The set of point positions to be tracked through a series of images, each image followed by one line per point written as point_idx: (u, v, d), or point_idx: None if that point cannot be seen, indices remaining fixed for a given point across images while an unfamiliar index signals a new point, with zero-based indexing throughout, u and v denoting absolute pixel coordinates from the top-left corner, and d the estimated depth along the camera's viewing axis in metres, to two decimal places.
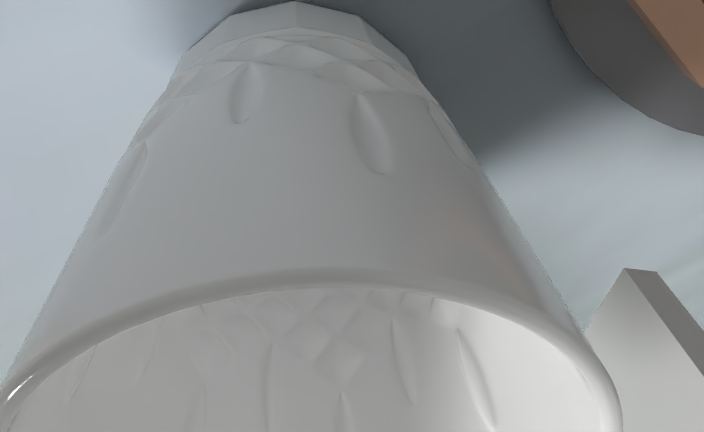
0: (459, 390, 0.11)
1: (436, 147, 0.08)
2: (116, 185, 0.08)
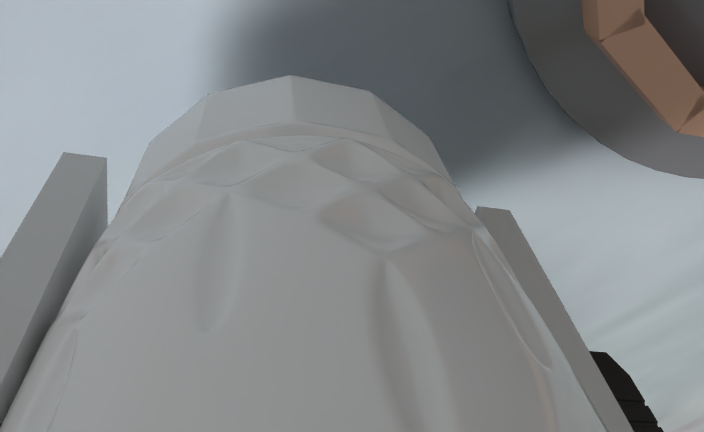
0: None
1: (505, 351, 0.06)
2: (24, 416, 0.05)
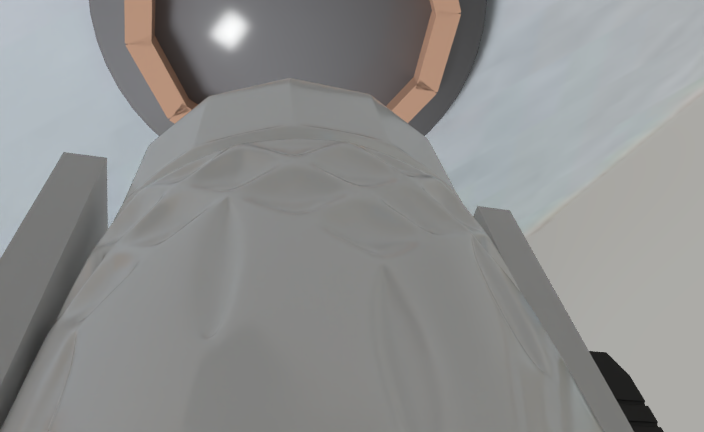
0: None
1: (504, 357, 0.06)
2: (22, 422, 0.05)
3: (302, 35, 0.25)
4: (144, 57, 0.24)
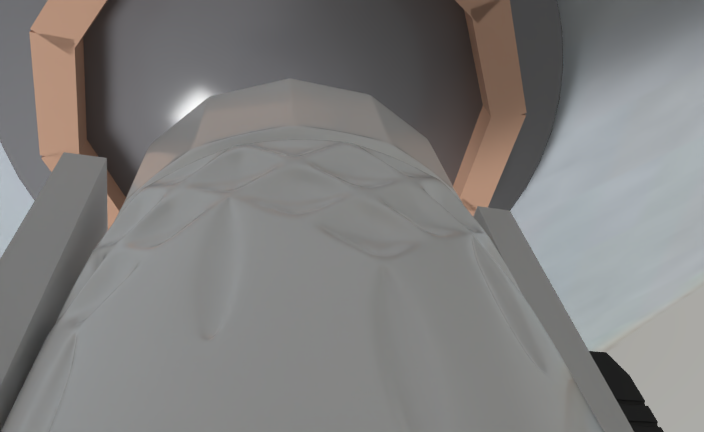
0: None
1: (504, 358, 0.06)
2: (24, 423, 0.05)
3: None
4: None
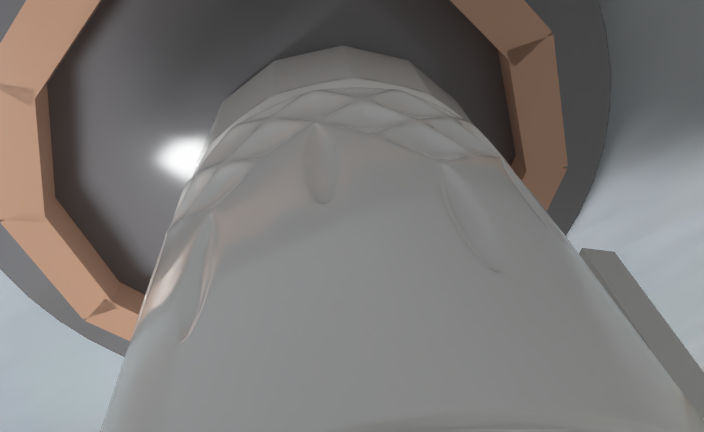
0: None
1: (534, 225, 0.08)
2: (184, 269, 0.07)
3: None
4: (35, 238, 0.14)
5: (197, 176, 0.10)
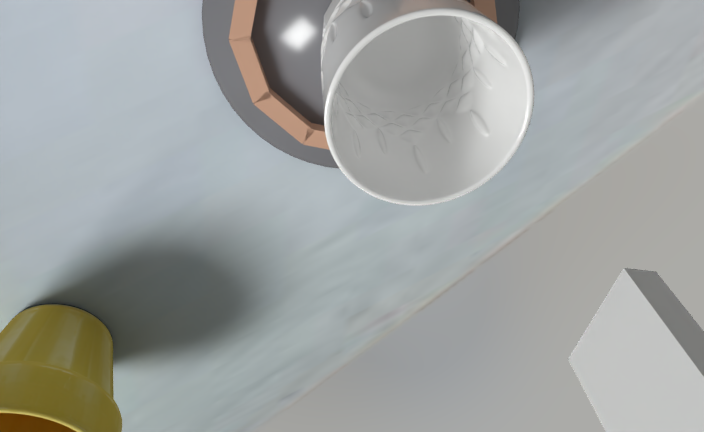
0: (472, 130, 0.26)
1: (472, 5, 0.23)
2: (358, 11, 0.23)
3: None
4: (242, 51, 0.29)
5: (343, 2, 0.25)
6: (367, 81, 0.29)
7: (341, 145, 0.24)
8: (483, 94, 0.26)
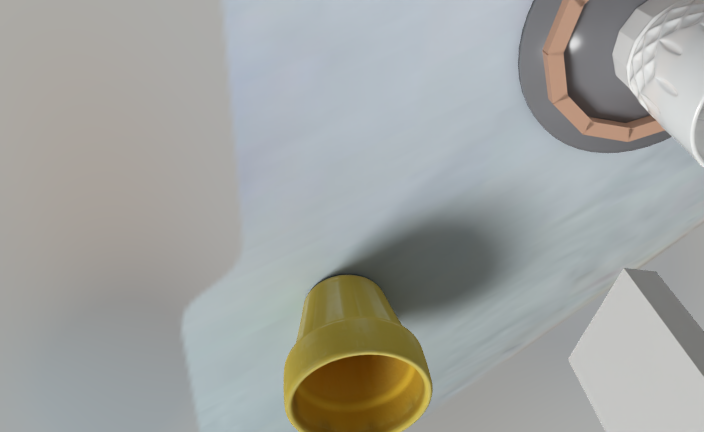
0: None
1: None
2: None
3: None
4: (555, 63, 0.37)
5: (666, 23, 0.33)
6: None
7: None
8: None
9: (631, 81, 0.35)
